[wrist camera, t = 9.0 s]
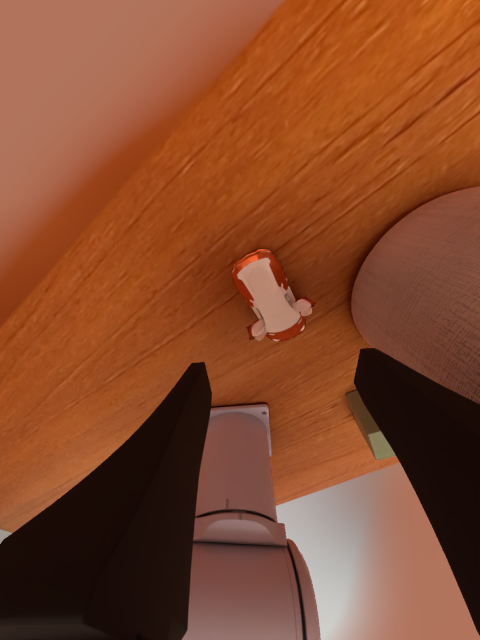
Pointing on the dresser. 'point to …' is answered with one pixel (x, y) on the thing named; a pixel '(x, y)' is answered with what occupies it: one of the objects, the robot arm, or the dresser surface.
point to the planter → (427, 292)
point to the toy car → (270, 297)
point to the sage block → (369, 427)
